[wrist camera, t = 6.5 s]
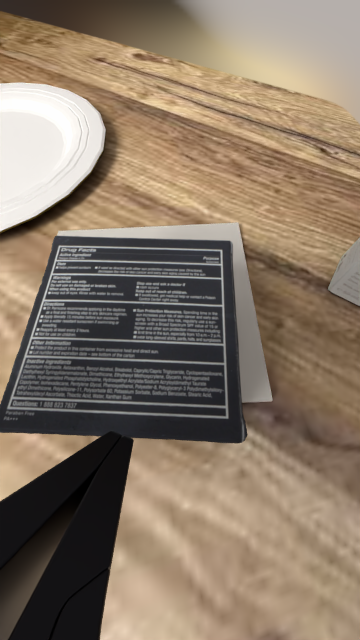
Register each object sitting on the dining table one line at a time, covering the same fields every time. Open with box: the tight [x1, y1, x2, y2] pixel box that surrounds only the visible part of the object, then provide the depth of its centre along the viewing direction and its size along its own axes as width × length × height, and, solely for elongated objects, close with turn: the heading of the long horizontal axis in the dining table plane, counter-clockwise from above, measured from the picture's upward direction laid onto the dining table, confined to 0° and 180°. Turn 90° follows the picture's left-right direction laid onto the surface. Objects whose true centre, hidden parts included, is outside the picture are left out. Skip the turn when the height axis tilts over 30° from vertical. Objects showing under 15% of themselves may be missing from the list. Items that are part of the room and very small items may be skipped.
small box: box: [0, 236, 247, 443], centre depth 14 cm, size 11×6×10 cm
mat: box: [57, 223, 273, 403], centre depth 19 cm, size 16×17×1 cm
